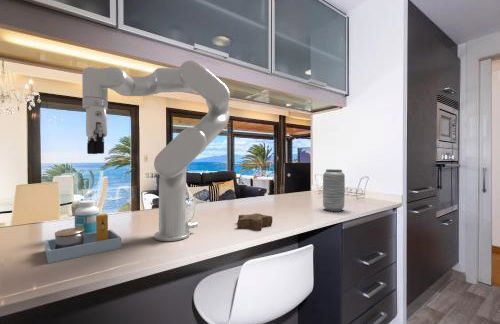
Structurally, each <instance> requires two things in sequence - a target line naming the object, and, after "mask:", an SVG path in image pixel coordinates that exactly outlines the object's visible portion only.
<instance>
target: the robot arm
mask: <svg viewBox="0 0 500 324" xmlns="http://www.w3.org/2000/svg"><path fill="white" fill-rule="evenodd" d="M81 77H82V79H81V80H82V87H81V88H82V92H81V93H82V99H81V100H82V108H83V109H84V110H85V134H86V135H85V136H86V137H87V142H86V145H87V146H86V148H87V150H86V153H87V154H88V155H99V154H102V155H103V154H105V137H107V136H108V122H107V119H108V118H107V111H108V110H109V108H108V107H109V106H108V105H109V102H108V101H109V100H108V99H109V95H108V93H109V92H108V90H112V91H114V92H116V94H118V95H120V96H123V97H146V96H152V95H157V94H161V93H192V92H193V93H195V92H196V93H197V94H198V95H200V97H202V98H203V99H204V100H205V102H206V106H207V108H208V110H207V113H206V114H205V115H204V116H202V118H201V119H200V120H199V121H198V122H197V123H195V124H194V125H193V127H188V128H185V129H183V130H182V131H181V132H179V133H178V134H177V135H176V136H175V137H174V138H173V139H172V140H171V141H169V143H168V144H166V145H165V146H164V148H162V150H160V151H159V152H158V153H157V155H156V156H155V158H154V161H153V167H154V170H155V172H156V173H157V174H158V175H159V178H158V179H159V180H158V231H157V232H155V233H154V234H153V236H154V237H153V238H154V239H155V240H157V241H160V242H176V241H181V240H184V239H187V238H189V237H190V235H191V231H190V230H191V229H195V228H198V227H199V226H198V222H187V220H186V219H187V217H186V216H187V206H186V205H187V199H186V198H187V168H188V166H189V165H190V164H191V163H192V162H193V161H195V159H196V158H197V157H199V155H201V154H202V153H203V152H205V150H206V149H207V147H209V145H210V143H212V142H213V141H214V140H215V139H216V138H217V137H218V135H220V134H221V132H223V131H224V129H225V128H226V126H227V125H228V123H229V120H230V117H231V115H230V114H231V110H230V105H229V103H230V102H229V101H230V98H231V92H230V90H229V88H228V87H227V85H226V84H225V83H224V82H223V81H222V80H220V79H219V78H218V77H217V76H216V75H215V74H213V73H212V72H211V71H210V70H209V69H207V68H206V67H205V66H204V65H203V64H201V63H199V62H198V61H195V60H186V61H184V62H182V64H181V65H180V66H179V67H158V68H156V69H155V70H154V71H152V73H150V74H148V75H145V76H130V75H128V74H127V73H126V71H124V70H123V69H122V68H120V67H116V66H110V67H109V66H108V67H102V68H99V67H94V66H93V67H92V66H89V67H85V68H83V69H82V76H81Z"/></svg>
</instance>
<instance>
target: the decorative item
mask: <svg viewBox="0 0 500 324" xmlns="http://www.w3.org/2000/svg"><path fill="white" fill-rule="evenodd" d="M237 217H238V218H237V219H238V220H237V223H236V226H237V229H251V230H256V231H261V230H262V228H264V227H265V228H266V227H271V226H272V225H273V216H272V215H266V214H261V213H257V212H256V213H255V212H254V213H251V214H239V215H238V216H237Z"/></svg>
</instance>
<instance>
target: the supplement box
mask: <svg viewBox="0 0 500 324" xmlns="http://www.w3.org/2000/svg"><path fill="white" fill-rule="evenodd" d="M108 230H109V214H108V213H99V215H96V242H98V241H103V240H108Z"/></svg>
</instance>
